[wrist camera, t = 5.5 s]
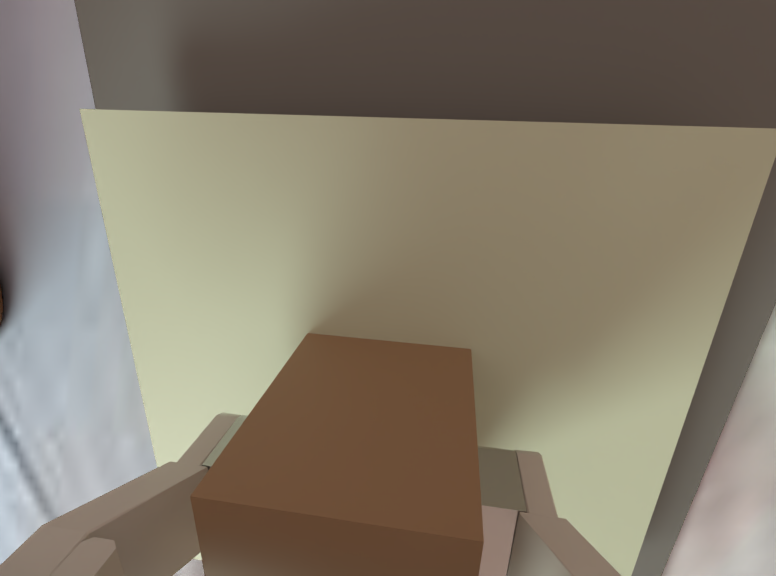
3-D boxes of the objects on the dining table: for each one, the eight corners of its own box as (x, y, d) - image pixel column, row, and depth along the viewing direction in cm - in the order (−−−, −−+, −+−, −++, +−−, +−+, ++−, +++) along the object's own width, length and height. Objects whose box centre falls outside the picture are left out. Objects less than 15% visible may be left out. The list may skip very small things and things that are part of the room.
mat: (879, 6, 9) (903, -1, 8) (643, 589, 15) (649, 604, 15) (88, -3, 11) (72, -8, 10) (183, 508, 18) (176, 519, 17)
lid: (755, 128, 8) (1311, 132, 3) (603, 604, 13) (701, 926, 8) (106, 109, 10) (-292, 92, 5) (190, 534, 15) (43, 759, 10)
